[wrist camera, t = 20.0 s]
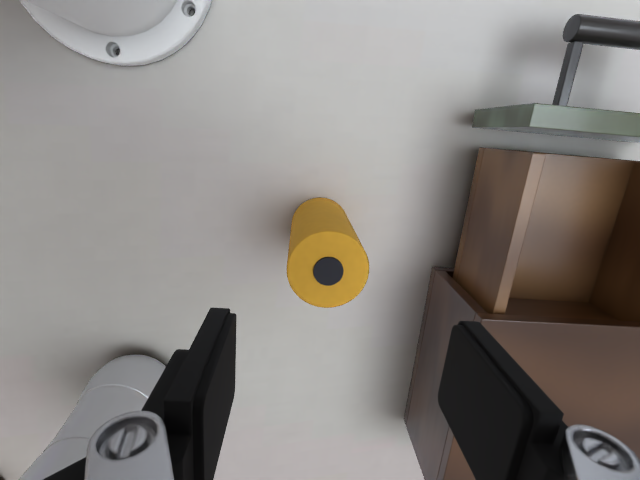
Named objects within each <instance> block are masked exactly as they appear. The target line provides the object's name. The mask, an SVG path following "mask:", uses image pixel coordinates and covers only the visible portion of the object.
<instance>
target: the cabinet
mask: <svg viewBox="0 0 640 480" xmlns="http://www.w3.org/2000/svg"><path fill="white" fill-rule="evenodd" d="M453 273H454V268H443V267H432V272H431V277H430V283H429V288H428V293H427V299H426V304H425V309H424V315H423V320H422V326H421V331H420V336H419V342H418V347H417V352H416V358H415V363H414V368H413V374H412V379H411V384H410V390H409V395H408V401H407V406H406V411H405V417H404V421H405V424H406V427H407V430H408V433H409V436H410V439H411V442H412V445H413V447H414V450H415V453H416V456H417V459H418V462H419V465H420V467H421V470H422V473H423V476H424V479H425V480H476V479H475V477H474V475H473V473H472V471H471V469H470V467H469V465H468V463H467V461H466V459H465V457H464V455H463V453H462V451H461V449H460V447H459V445H458V443H457V441H456V439H455V437H454V435H453V433H452V431H451V429H450V427H449V425H448V423H447V421H446V419H445V417H444V415H443V413H442V411H441V409H440V407H439V404H438V391H439V386H440V381H441V377H442V372H443V367H444V363H445V358H446V353H447V349H448V344H449V340H450V335H451V330H452V327H453V326H454V325H457V324H458V322H459V321H477V322H480V323H481V324H482V325H483V326H484V327H485V329H486V330H487V331H488V332H489V333H490V334H491V335H492V336H493V337H494V338H495V339H496V340H497V342H498V343H499V344H500V345H501V346H502V347H503V348H504V349H505V350H506V351H507V352H508V353H509V355H510V356H511V357H512V358H513V359H514V360H515V361H516V362H517V363H518V364H519V365H520V367H521V368H522V369H523V370H524V371H525V372H526V373H527V374H528V375H529V376H530V377H531V378H532V380H533V381H534V382H535V383H536V384H537V385H538V386H539V387H540V388H541V389H542V390H543V392H544V393H545V394H546V395H547V396H548V397H549V398H550V399H551V400H552V401H553V402H554V403H555V405H556V406H557V407H558V408H559V409H560V410H561V411H562V412H563V413H564V416H563V418H562V421H563V422H564V423H565V424H566V425H567V426H568V427H569V426H572V425H587V426H591V427H595V428H597V429H600V430H602V431H605V432H606V433H608V434H610V435H612V436H614V437H616V438H617V439H618V440H620V441H621V442H623V443H624V444H625V445H627V446H628V447H629V448H630V449H631V450H632V451H633V452H634V453H635V454H636V456H637V457H638V458H639V460H640V322H635V321H617V320H598V319H579V318H561V317H542V316H523V315H505V314H487V312H486V311H485V310H484V309H483V308H482V307H481V306H480V305H479V304H478V303H477V302H476V301H475V300H474V299H473V298H472V297H471V296H470V295H469V294H468V293H467V292H466V291H465V290H464V289H463V288H462V287H461V286H460V285H459V284H458V283H457V282H456V281H455V280H454V279H453Z"/></svg>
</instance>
